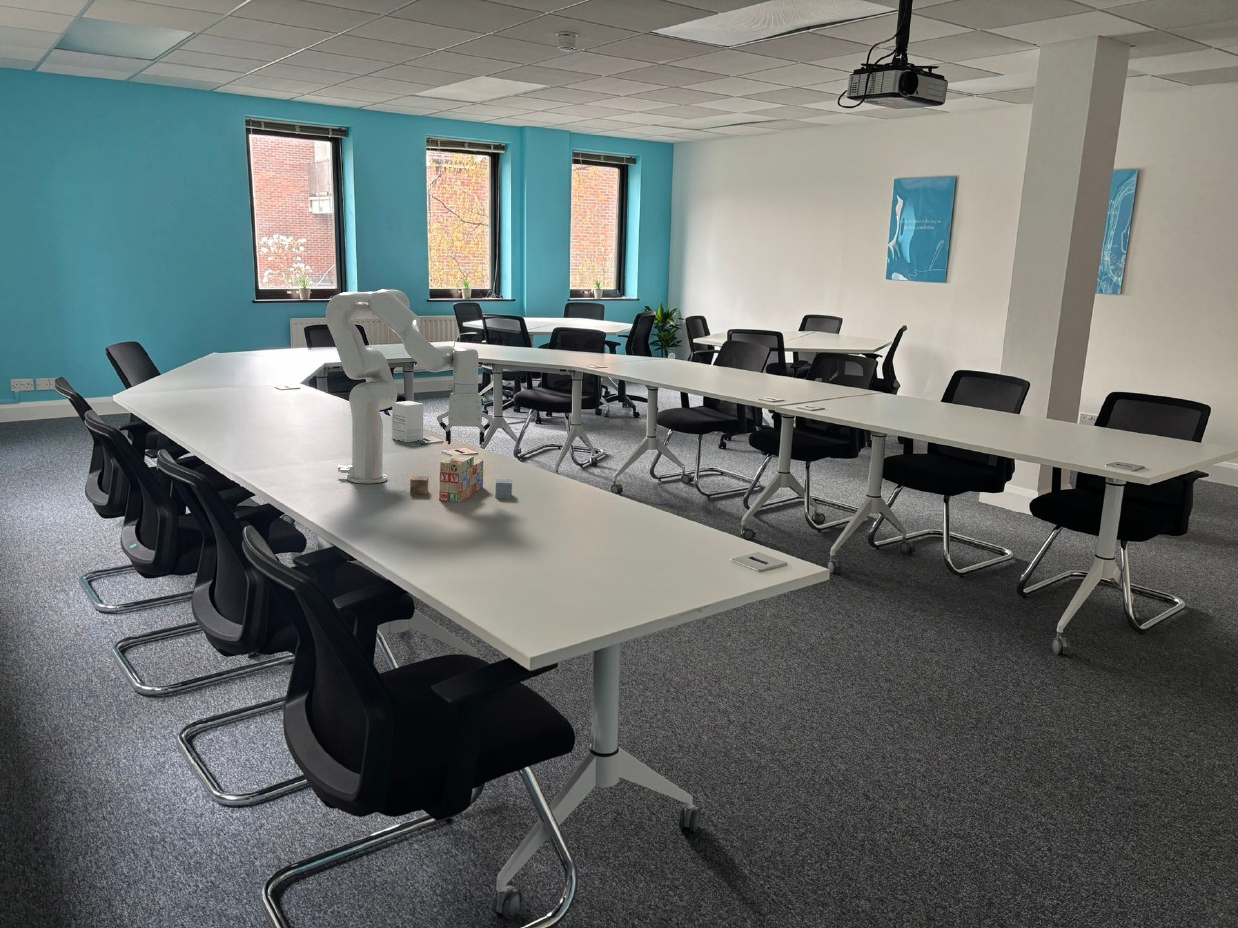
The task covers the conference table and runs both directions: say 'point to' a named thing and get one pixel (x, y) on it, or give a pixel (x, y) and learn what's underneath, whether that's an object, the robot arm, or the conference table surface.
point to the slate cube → (503, 488)
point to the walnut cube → (419, 485)
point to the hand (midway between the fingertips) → (465, 444)
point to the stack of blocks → (460, 477)
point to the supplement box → (407, 421)
